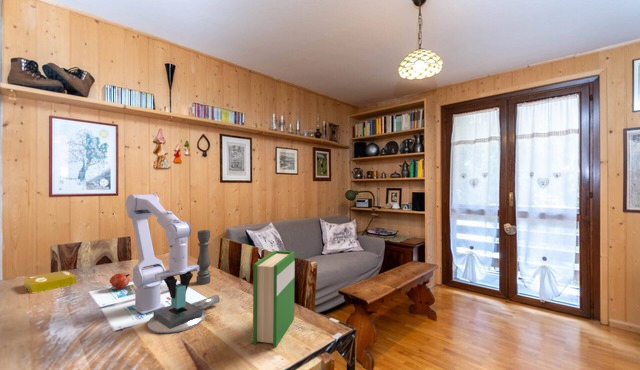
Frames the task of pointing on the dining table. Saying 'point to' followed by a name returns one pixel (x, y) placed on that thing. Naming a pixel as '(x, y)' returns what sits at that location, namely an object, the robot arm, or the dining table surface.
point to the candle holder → (203, 258)
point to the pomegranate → (119, 281)
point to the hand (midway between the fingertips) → (178, 295)
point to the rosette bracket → (180, 316)
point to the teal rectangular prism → (179, 297)
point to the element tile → (49, 281)
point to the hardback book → (273, 296)
